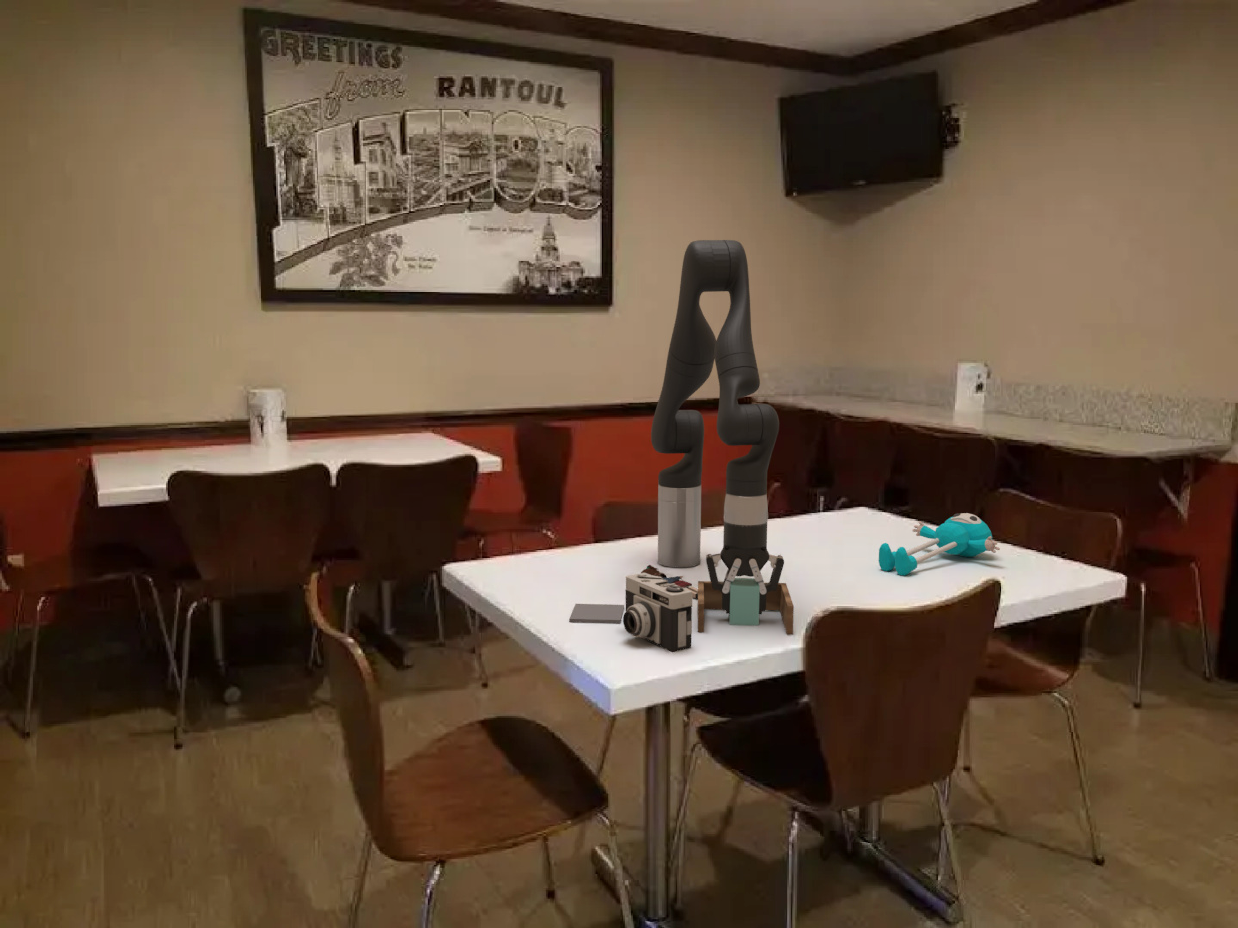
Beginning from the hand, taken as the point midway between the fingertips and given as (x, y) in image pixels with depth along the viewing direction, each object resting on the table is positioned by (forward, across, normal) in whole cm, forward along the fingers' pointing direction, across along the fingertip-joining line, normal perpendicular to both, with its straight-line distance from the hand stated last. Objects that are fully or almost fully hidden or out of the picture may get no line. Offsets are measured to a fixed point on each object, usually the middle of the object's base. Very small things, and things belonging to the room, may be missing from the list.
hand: (743, 612), depth 171 cm
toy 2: (+2, -44, -43) cm, 61 cm away
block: (+1, 0, 0) cm, 1 cm away
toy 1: (+2, +13, -17) cm, 22 cm away
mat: (+1, +26, -1) cm, 26 cm away
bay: (+1, 0, 0) cm, 1 cm away
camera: (+2, +16, +12) cm, 20 cm away
